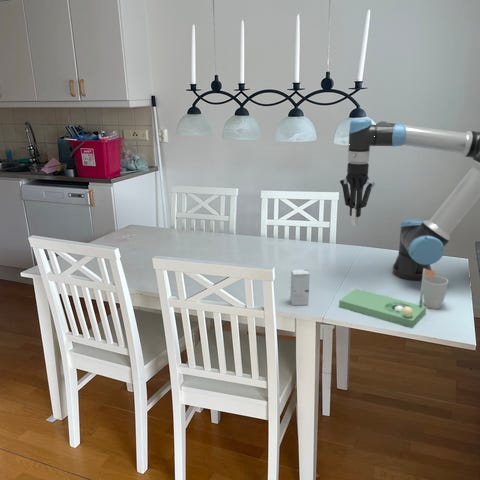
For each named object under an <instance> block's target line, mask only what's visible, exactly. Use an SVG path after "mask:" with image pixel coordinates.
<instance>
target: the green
mask: <svg viewBox="0 0 480 480" xmlns="http://www.w3.org/2000/svg"><path fill="white" fill-rule="evenodd" d="M396 306H402V307H403V308H404V307H406V306H408V307H411V308H412V309H413V314H412V316H410V317H406V316H404V315H403V313H402V311H396V310H394V308H395V307H396ZM338 307H339V308H341V307H342V309H345V310H349V311H352V312H356V313H359V314H362V315H367V316H370V317H373V318H377V319H380V320H383V321H387V322H390V323H395V324H398V325H402V326H404V327H408V328H413V327H414V326H415V325H416V324H417V323H418V322H419V321H420V320H421V319H422V318H423V317H424V316H425V315H426V313H427V307H426V306H425V305H422V307H421V308H420V307H419V304H417V303H413V302H409V301H405V300H402V299H397V298H393V297H389V296H387V295H382V294H378V293H374V292H370V291H366V290H363V289H358V288H355V289H353V290H352V291H351V292H349V293H348V294H346V295H345V296H344V297H342V298H340V299H339V301H338Z"/></svg>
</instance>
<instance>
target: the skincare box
mask: <svg viewBox="0 0 480 480" xmlns="http://www.w3.org/2000/svg"><path fill="white" fill-rule="evenodd" d="M310 277H311V273H310V272H309V270H308V269H291V272H290V298H289V300H290V304H291V303H292V304H291V306H308V305H309V294H310ZM307 304H308V305H307Z"/></svg>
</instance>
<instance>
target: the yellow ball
mask: <svg viewBox="0 0 480 480" xmlns="http://www.w3.org/2000/svg"><path fill="white" fill-rule="evenodd" d="M402 313H403V315H404V316H406V317H410V316H412V314H413V309H412V308H411V307H408V306H406V307H404V308H403V310H402Z"/></svg>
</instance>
